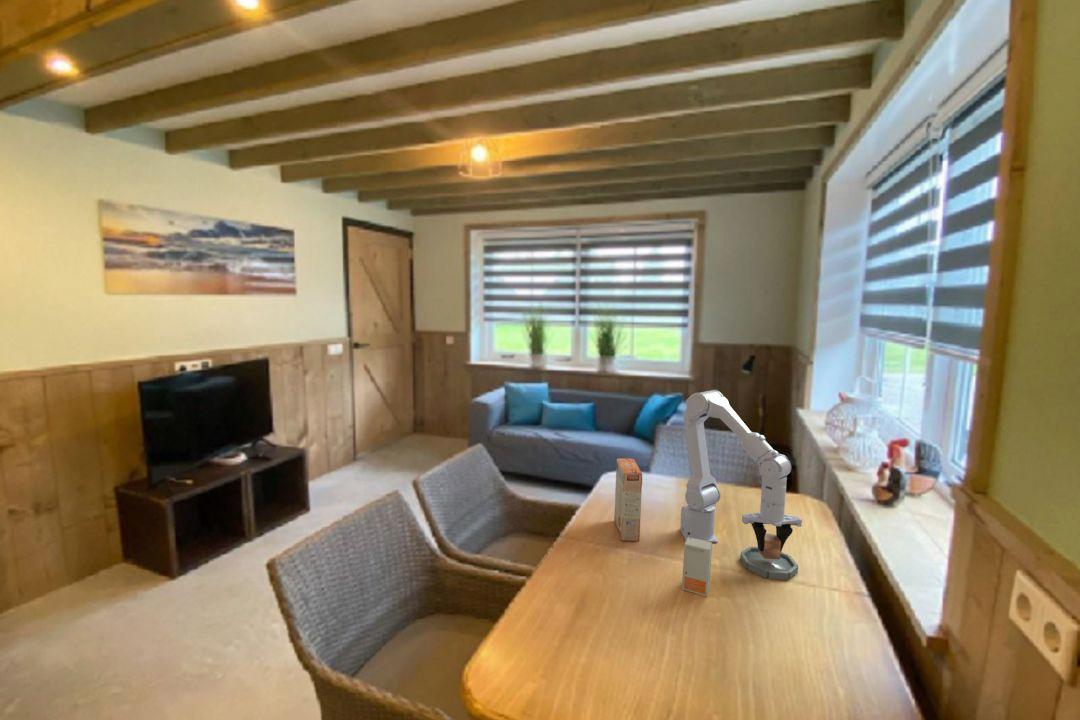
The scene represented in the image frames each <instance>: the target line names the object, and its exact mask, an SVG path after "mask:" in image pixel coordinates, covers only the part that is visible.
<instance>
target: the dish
mask: <svg viewBox="0 0 1080 720" xmlns="http://www.w3.org/2000/svg"><path fill="white" fill-rule="evenodd" d="M758 549H759V548H758V546H748V547H747V548H746V549H743V550H742V551H740V558H739V559H740V561H741V563H742V564H743V566H744V567H745V569H746V570H747V571H749V572H751V573H754V574H756V575H758V576H761V577H763V578H764V579H768V580H782V581H784V580H785V581H788V580H791V579H792V578H794V576H796V575H797V574H798V572H799V564H798V563H797V562H796V561H795V560H794V559H793V557H792V556H791V555H789V554H788V553H785V552H783V551H781V552H780V559H764V558H763V557H762V555H761V554H760V552H759V551H758Z"/></svg>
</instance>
